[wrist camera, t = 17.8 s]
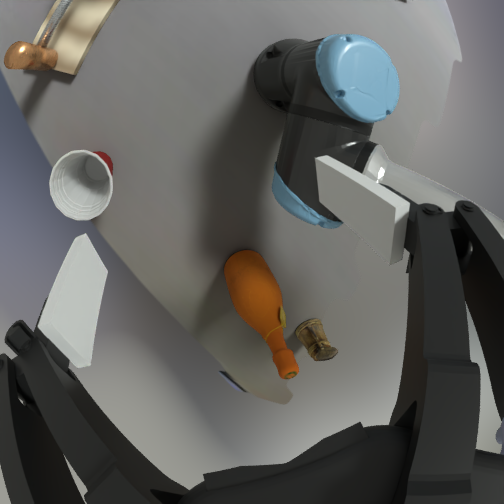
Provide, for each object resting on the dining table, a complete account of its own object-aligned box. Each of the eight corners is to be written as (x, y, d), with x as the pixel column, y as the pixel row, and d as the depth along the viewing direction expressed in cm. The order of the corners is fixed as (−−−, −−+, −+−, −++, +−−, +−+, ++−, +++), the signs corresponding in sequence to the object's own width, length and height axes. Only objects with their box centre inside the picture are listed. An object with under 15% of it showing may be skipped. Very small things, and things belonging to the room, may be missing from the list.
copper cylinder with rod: (89, -25, 19) (70, -50, 9) (107, -22, 21) (91, -49, 11) (35, 68, 26) (0, 67, 16) (51, 72, 28) (18, 70, 18)
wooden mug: (318, 304, 79) (347, 350, 64) (321, 330, 87) (346, 372, 72) (291, 316, 78) (316, 365, 64) (297, 341, 86) (319, 385, 72)
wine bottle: (256, 283, 68) (304, 388, 43) (217, 281, 64) (252, 395, 40) (269, 249, 63) (330, 353, 39) (228, 244, 59) (273, 359, 35)
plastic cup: (105, 124, 39) (85, 135, 29) (136, 171, 45) (127, 194, 36) (61, 161, 39) (35, 182, 30) (93, 203, 46) (76, 233, 36)
